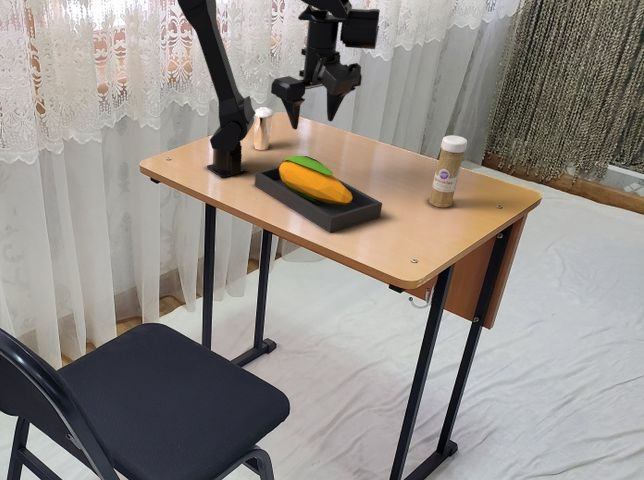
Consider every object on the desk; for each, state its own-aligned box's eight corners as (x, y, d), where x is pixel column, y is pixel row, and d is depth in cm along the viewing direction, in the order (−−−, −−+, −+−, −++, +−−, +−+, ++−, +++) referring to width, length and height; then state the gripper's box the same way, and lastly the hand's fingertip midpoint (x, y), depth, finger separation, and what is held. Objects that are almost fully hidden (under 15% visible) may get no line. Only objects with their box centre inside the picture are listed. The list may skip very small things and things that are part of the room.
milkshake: (246, 144, 174) (249, 102, 168) (268, 143, 174) (272, 101, 168) (250, 151, 170) (252, 108, 164) (273, 150, 171) (276, 107, 165)
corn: (298, 142, 153) (369, 174, 139) (296, 176, 157) (365, 210, 144) (270, 152, 150) (340, 186, 136) (270, 187, 154) (337, 222, 141)
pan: (254, 185, 155) (255, 172, 154) (301, 173, 160) (303, 160, 159) (329, 232, 138) (331, 218, 137) (380, 217, 143) (382, 203, 142)
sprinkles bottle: (427, 206, 147) (441, 141, 139) (430, 197, 151) (444, 133, 143) (451, 210, 146) (467, 144, 138) (453, 200, 149) (468, 136, 141)
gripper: (309, 62, 132) (300, 146, 141) (386, 48, 139) (373, 128, 149) (272, 48, 139) (266, 128, 149) (347, 35, 147) (337, 112, 156)
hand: (312, 124), depth 150 cm, fingers open, 9 cm apart
